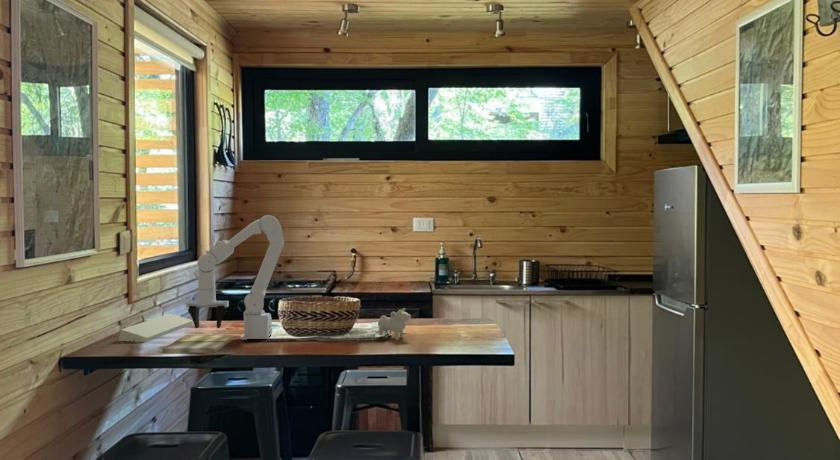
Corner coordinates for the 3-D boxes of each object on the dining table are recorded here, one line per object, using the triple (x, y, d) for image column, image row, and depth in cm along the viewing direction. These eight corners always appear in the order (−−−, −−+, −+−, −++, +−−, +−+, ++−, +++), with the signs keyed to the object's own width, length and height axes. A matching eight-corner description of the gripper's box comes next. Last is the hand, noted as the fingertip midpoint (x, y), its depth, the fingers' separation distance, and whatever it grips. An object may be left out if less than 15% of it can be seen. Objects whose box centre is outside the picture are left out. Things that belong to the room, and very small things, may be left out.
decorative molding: (190, 332, 270) (167, 324, 271) (193, 320, 269) (170, 313, 271) (143, 350, 236) (117, 342, 237) (147, 337, 236) (121, 329, 237)
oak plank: (233, 339, 239) (233, 334, 239) (224, 345, 229) (224, 341, 229) (185, 339, 240) (185, 334, 240) (174, 345, 230) (174, 341, 230)
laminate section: (224, 346, 229) (224, 341, 229) (214, 352, 219) (214, 348, 219) (174, 346, 229) (174, 341, 229) (162, 352, 219) (162, 348, 219)
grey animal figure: (406, 340, 235) (406, 310, 235) (375, 337, 242) (375, 307, 241) (414, 338, 240) (414, 308, 239) (384, 334, 246) (383, 305, 246)
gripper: (231, 287, 241) (232, 325, 241) (190, 287, 241) (191, 325, 242) (224, 289, 234) (225, 329, 234) (183, 290, 234) (184, 329, 235)
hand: (208, 327), depth 237 cm, fingers open, 7 cm apart
